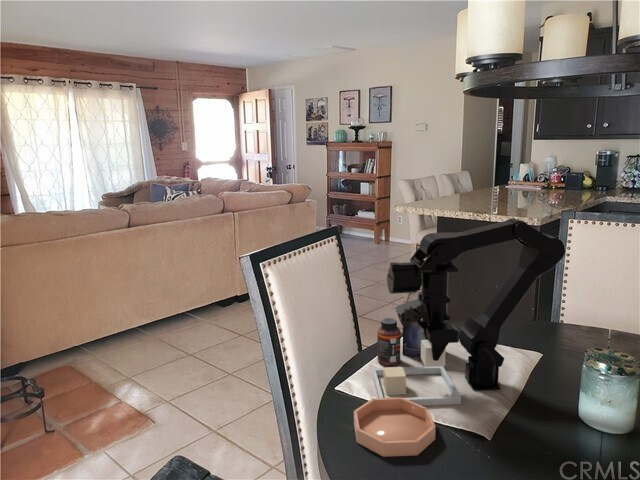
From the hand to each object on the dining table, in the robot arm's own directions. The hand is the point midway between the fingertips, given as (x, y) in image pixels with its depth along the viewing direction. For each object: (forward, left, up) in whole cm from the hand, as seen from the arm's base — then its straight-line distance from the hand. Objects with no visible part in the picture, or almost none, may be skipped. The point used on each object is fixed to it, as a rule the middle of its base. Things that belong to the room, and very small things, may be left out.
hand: (432, 355), depth 109 cm
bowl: (+12, +16, -8) cm, 22 cm away
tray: (+4, 0, -8) cm, 9 cm away
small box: (-2, -18, -8) cm, 20 cm away
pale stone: (0, 0, -2) cm, 2 cm away
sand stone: (+9, 0, -8) cm, 12 cm away
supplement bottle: (+8, -14, -8) cm, 18 cm away
